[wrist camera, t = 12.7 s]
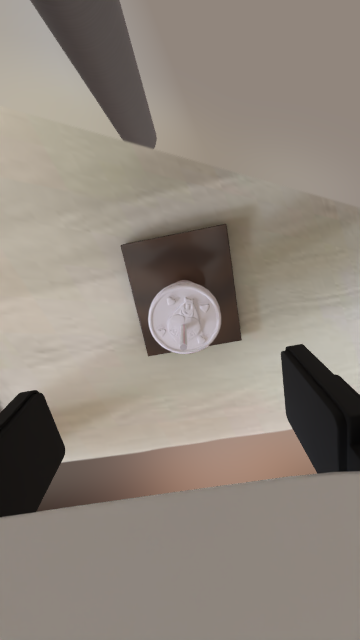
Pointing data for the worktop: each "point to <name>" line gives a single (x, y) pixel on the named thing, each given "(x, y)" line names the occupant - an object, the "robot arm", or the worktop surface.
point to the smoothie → (184, 317)
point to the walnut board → (183, 275)
